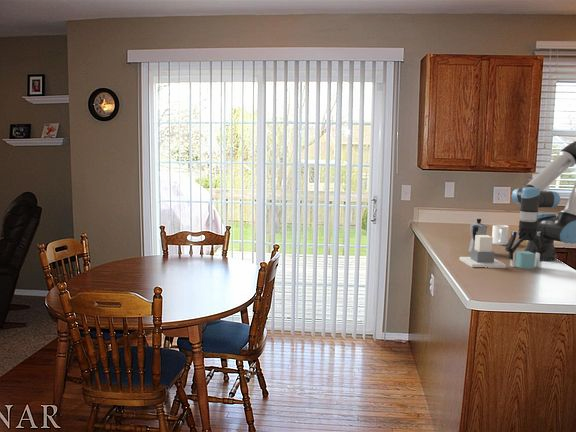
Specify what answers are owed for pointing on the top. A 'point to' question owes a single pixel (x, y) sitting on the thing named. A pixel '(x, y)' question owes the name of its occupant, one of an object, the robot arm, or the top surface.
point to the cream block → (483, 243)
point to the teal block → (525, 259)
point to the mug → (500, 234)
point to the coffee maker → (476, 232)
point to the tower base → (490, 265)
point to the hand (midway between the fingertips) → (524, 266)
